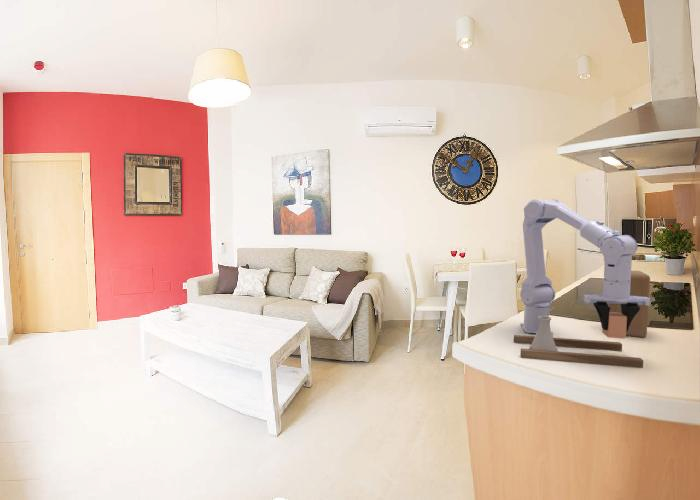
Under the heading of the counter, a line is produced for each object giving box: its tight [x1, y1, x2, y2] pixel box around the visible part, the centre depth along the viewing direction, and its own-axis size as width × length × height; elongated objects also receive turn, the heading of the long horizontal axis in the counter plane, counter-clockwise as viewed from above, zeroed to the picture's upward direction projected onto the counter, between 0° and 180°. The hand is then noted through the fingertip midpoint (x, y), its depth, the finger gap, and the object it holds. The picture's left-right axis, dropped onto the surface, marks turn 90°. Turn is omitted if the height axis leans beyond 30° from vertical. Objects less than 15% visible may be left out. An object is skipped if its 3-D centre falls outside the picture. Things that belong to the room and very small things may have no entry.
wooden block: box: [607, 270, 651, 338], centre depth 113 cm, size 10×10×20 cm
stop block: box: [601, 312, 627, 339], centre depth 94 cm, size 4×4×6 cm
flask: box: [529, 316, 558, 351], centre depth 99 cm, size 7×7×10 cm
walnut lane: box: [513, 334, 644, 369], centre depth 97 cm, size 13×28×2 cm, turn 73°
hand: (614, 329), depth 94 cm, fingers closed on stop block, 4 cm apart
